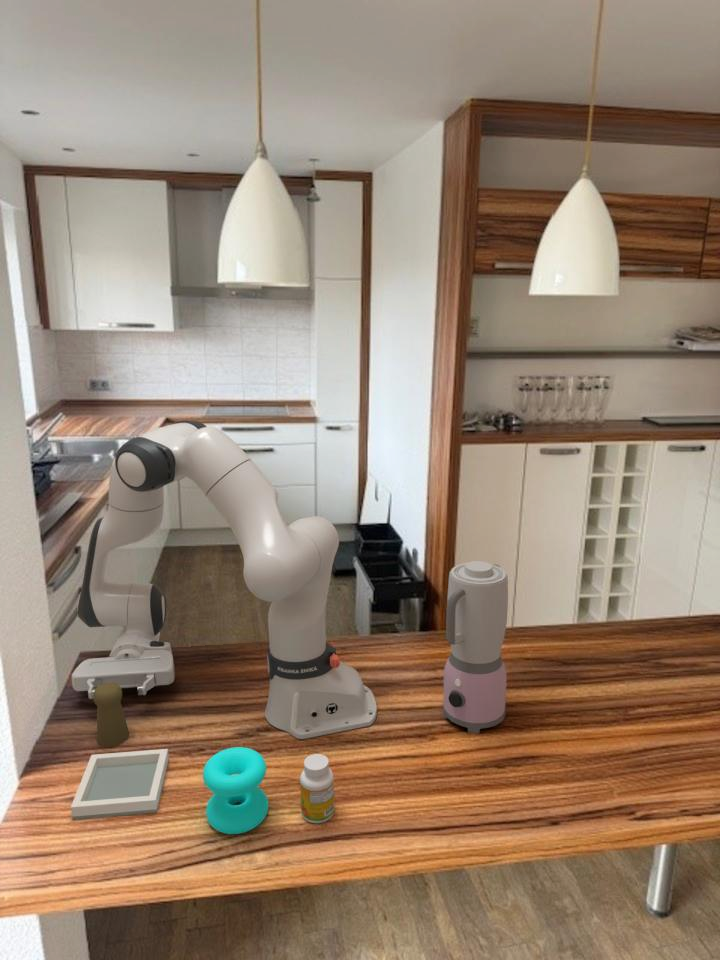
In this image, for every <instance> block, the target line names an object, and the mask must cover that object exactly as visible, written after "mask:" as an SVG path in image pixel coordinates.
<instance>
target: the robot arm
mask: <svg viewBox="0 0 720 960" xmlns="http://www.w3.org/2000/svg"><path fill="white" fill-rule="evenodd" d="M111 463H112V464H111V466H110V467H111V469H110V472H109V482H108V507H107V512H106V514H105V515H104V516H102V517H101V518H98V519H97V520H96V522H95V523H94V526H93V527H92V530H91V533H90V538H89V542H88V548H87V554H86V561H85V567H84V572H83V577H82V578H83V579H82V585H81V590H80V592H79V596H78V599H77V605H76V611H77V617H78V619H79V620H80V621H81V622H83V624H85V625H86V626H87V627H88V628H102V627H103V628H104V627H122V628H121V630H120V632H119V634H118V636H117V637H118V638H117V639H116V641H115V643H114V645H113V647H112V648H111V652H110V653H109V655H108V656H107V657H93V658H87V659H85V660H83V661H81V662H80V664H79V665H78V666H77V667H76V668H75V669H74V670H73V672H72V674H71V685H72V688H73V690H75V691H76V692H86V691H87V695H88V699H89V700H93V694H94V691H95V689H96V688H97V687H98V686H100V685H102V684H104V683H116V684H118V685H119V686H120V687H121V689H129V688H137V695H138V696H146V695H147V692H148V691H150V690H151V689H153V688H154V687H159V686H169V685H170V684H172V683H174V681H175V664H174V656H173V653H172V652H173V651H172V647H171V643H170V642H168V641H167V642H166V641H159V640H160V638H161V637H160V636H161V631H162V630H163V627H164V625H165V622H166V615H167V600H166V596H165V593H164V592H163V591H162V589H161V588H160V587H159V586H158V585H157V584H155V583H144V582H143V583H142V582H133V583H132V582H113V581H109V580H106V579H105V574H106V569H107V568H106V567H107V562H108V556H109V554H110V552H112V551H114V550H116V549H119V548H121V547H125V546H127V545H130V544H135V543H138V542H141V541H144V540H145V539H147V538H150V537H151V536H152V535H153V534H154V533H155V532H156V531H157V530H158V529H159V528H160V526H161V524H162V522H163V517H164V507H165V498H164V497H165V496H164V495H165V493H164V491H165V490H164V486H167V485H170V484H171V483H175V482H178V481H181V480H183V479H185V478H188V479H190V480H192V482H193V483H195V484H196V485H197V487H198V488H199V489H200V491H201V492H202V493H203V494H204V496H205V497H206V498H207V499H208V501H209V503H211V504H212V506H213V507H214V508H215V510H217V512H218V513H219V514H220V516H221V517H222V518H223V519H224V521H225V522H226V524H228V527H230V529H231V530H232V532H233V535H234V536H235V538H236V540H237V541H236V542H238V545H239V547H240V551H241V553H242V556H243V557H242V558H243V579H244V583H245V585H246V587H247V588H248V590H249V591H250V592H251V594H252V595H254V596H255V597H256V598H258V599H259V600H261V601H264V602H268V603H269V602H271V604H270V607H269V609H268V615H267V617H268V618H267V621H268V640H269V647H268V649H267V655H266V656H267V659H266V660H267V673H268V675H269V676H268V677H269V689H268V690H269V691H268V697H267V702H266V707H265V710H264V716H265V719H266V720H267V722H268V723H269V724H270V725H271V726H272V727H275V728H277V729H279V730H282V731H284V732H287V733H289V734H290V735H292V736H293V737H294V738H296V739H299V740H305V739H310V738H315V737H316V738H317V737H319V736H325V735H330V734H336V733H339V732H345V731H350V730H354V729H359V728H365V727H370V726H371V725H373V724H374V722H375V721H376V719H377V715H378V708H377V701H376V698H375V695H374V694H373V691H372V690H371V689H370V688H369V687H368V686H367V685H364V682H363V679H362V677H361V675H360V674H359V672H358V671H357V670H356V668H353V667H352V666H350V665H348V664H346V663H344V662H343V661H341V659H340V656H339V655H337V648H336V647H335V644H334V642H333V641H332V640H331V641H330V643H328V642H327V635H326V631H327V630H326V609H327V608H326V607H327V602H328V594H329V590H330V584H331V583H330V582H331V577H332V571H333V565H334V560H335V556H336V554H337V552H338V549H339V545H340V537H339V533H338V531H337V529H336V526H334V525H333V523H332V522H330V521H329V520H328V519H327V518H325V517H322V516H318V515H312V516H306V517H303V518H299V519H297V520H295V521H293V522H291V523H290V524H288V525H287V523H286V521H285V520H284V517H283V516H282V513H281V511H280V508H279V504H278V496H279V495H278V491H277V489H276V488H275V486H274V485H273V484H272V482H270V481H269V479H268V478H267V476H266V475H265V474H264V473H263V472H262V471H261V469H260V468H259V467H258V466H257V465H256V463H255V462H254V461H253V460H252V459H251V458H250V457H249V455H248V454H247V453H246V452H245V451H244V450H243V448H241V447H240V446H239V445H238V444H237V443H236V441H234V440H233V439H232V438H231V437H229V436H228V435H227V434H226V433H224V432H223V431H222V430H221V429H219V428H217V427H215V426H207V425H206V424H204V423H203V422H200V421H199V420H193V419H192V420H191V419H188V420H180V421H177V422H175V423H174V424H173V423H172V424H168V425H164V426H162V427H155V428H154V429H150V430H148V431H147V432H144V433H143V434H141V435H139V436H136V437H132V438H130V439H129V440H128V441H126V442H125V443H124V444H122V445H121V446H120V447H119V448H118V450H117V451H116V453H115V457H114V458H113V460H112V462H111Z"/></svg>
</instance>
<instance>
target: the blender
mask: <svg viewBox="0 0 720 960" xmlns="http://www.w3.org/2000/svg"><path fill="white" fill-rule="evenodd" d="M448 573H449V575H448V586H447V587H448V588H447V599H446V600H447V603H446V609H445V610H446V613H445V614H446V616H445V617H446V618H445V619H446V620H445V621H446V622H445V624H446V625H445V636H446V638H445V639H446V642H447V643H448V644H449V645H450V655H449V656H448V658H447V660H446V662H445V666H444V669H443V703H442V705H443V706H442V710H443V711H442V712H443V713H442V714H443V717H444V719H445V720H449V721H450V722H452V723H454V724H456V725H457V726H458V725H459V726H461V727H463V728H467V733H469V734H477V735H478V734H480V730H481V729H488V728H492V727H495V726H497V725H499V724H500V723H502V721H504V719H505V717H506V695H507V670H506V667H505V664H504V661H503V659H502V647H503V645H504V639H505V635H506V629H507V623H508V610H509V609H508V607H509V606H508V605H509V585H508V583H509V579H508V578H509V577H508V573H507V572H506V571H505V569H503V568H502V567H501V566H500V564H495V563H494V564H491V563H489V562H486V561H482V560H472V561H468V562H465V563H460V564H457V565H455V566H454V567H452V568H451V569H450V571H449V572H448Z"/></svg>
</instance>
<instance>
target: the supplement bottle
mask: <svg viewBox="0 0 720 960" xmlns="http://www.w3.org/2000/svg"><path fill="white" fill-rule="evenodd" d="M334 782H335V781H334V773H333V771H332V769H331V768H330V762H329V758H328V757H327V756H326V755H324V754H321V753H320V754H319V753H314V754H310V755H308V756H307V757H306V758H304V761H303V770H302V772H301V773H300V777H299V785H300V788H299V789H300V807H301V808H300V809H301V816H302V817H303V819H304V820H305V821H307V822H309V823H312V824H323V823H325V822H327V821H329V820H330V819H331V818H332V817H333V816H334V814H335V787H334V786H335V785H334Z"/></svg>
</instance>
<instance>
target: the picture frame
mask: <svg viewBox="0 0 720 960" xmlns="http://www.w3.org/2000/svg"><path fill="white" fill-rule="evenodd" d="M169 761H170V756H169V749H168V748H162V749H161V748H160V749H149V750H136V751H123V752H111V753H98V754H97V753H96V754H91V755H90V757H89V760H88V763H87V765H86V768H85V770H84V773H83V775H82V778H81V781H80V783H79V785H78V788H77V790H76V793H75V795H74V798H73V801H72V804H71V805H70V811H71V820H73V821H74V820H84V819H85V820H86V819H97V818H99V819H100V818H107V817H108V818H110V817H119V816H120V817H121V816H131V815H143V814H144V815H145V814H154V813H158V810H159V804H160V800H161V796H162V793H163V792H162V791H163V787H164V784H165V779H166V775H167V771H168V765H169Z"/></svg>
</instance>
